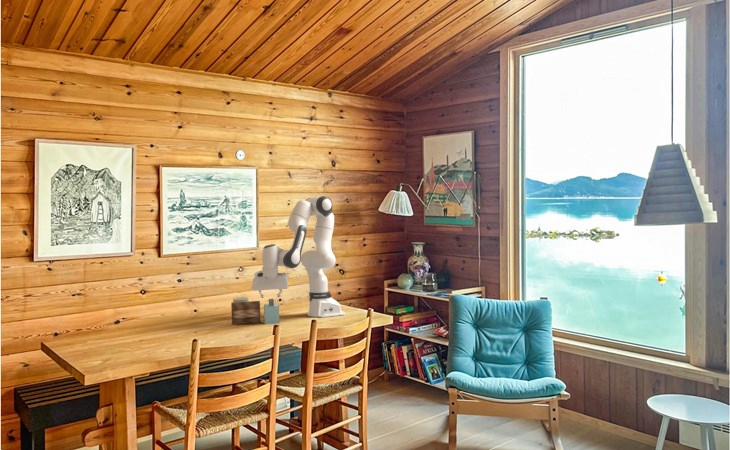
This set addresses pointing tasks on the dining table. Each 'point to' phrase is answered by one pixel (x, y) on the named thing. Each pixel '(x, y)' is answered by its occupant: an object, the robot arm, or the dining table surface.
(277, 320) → the blue square bottle
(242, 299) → the can
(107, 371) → the dining table surface
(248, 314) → the wall board
